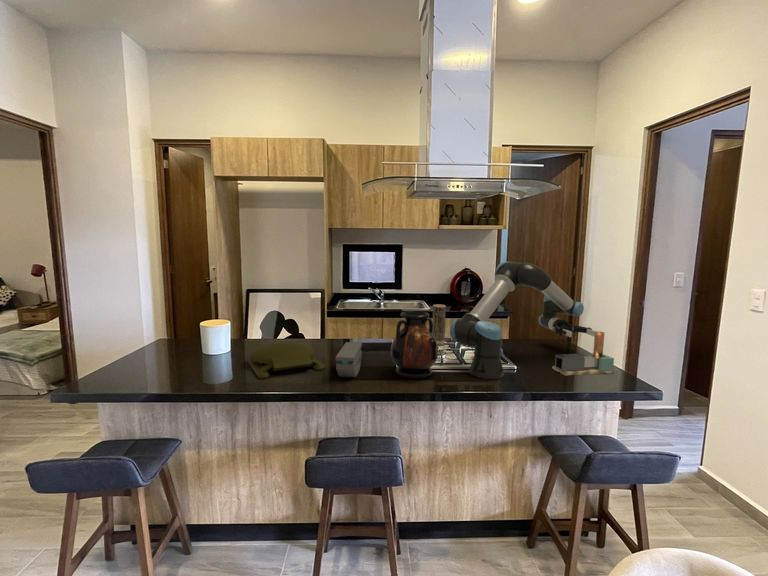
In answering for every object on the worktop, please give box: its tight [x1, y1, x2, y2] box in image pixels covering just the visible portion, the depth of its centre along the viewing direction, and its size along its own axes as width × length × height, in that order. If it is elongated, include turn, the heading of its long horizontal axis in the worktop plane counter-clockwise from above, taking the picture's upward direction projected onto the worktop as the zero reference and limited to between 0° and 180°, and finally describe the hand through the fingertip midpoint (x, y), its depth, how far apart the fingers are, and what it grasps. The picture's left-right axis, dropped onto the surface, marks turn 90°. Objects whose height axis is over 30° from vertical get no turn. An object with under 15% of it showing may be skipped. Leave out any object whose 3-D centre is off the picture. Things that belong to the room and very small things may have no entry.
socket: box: [588, 352, 615, 371], centre depth 195 cm, size 6×9×6 cm, turn 10°
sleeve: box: [554, 353, 585, 372], centre depth 192 cm, size 11×6×6 cm, turn 100°
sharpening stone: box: [335, 341, 363, 378], centre depth 187 cm, size 25×8×11 cm, turn 175°
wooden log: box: [432, 303, 447, 347], centre depth 226 cm, size 7×7×25 cm
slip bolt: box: [582, 331, 605, 367], centre depth 193 cm, size 15×4×16 cm, turn 100°
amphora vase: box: [390, 310, 439, 379], centre depth 186 cm, size 22×22×28 cm
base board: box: [552, 365, 614, 376], centre depth 194 cm, size 25×10×1 cm, turn 100°
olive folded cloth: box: [247, 340, 326, 380], centre depth 198 cm, size 35×31×10 cm
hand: (583, 334), depth 204 cm, fingers open, 13 cm apart
